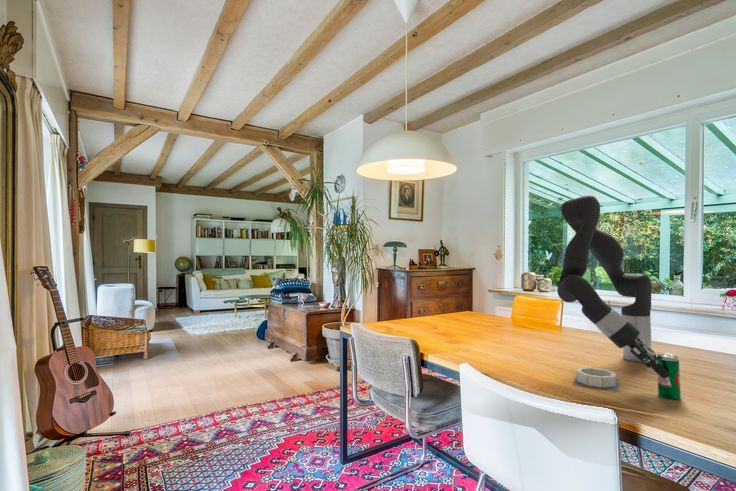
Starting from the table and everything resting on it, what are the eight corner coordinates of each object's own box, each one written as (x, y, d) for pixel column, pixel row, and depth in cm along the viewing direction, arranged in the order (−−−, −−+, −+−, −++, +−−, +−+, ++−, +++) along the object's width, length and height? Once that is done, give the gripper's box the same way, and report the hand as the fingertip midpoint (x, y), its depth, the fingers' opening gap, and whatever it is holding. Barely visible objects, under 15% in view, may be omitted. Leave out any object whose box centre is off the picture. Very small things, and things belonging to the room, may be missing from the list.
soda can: (653, 395, 109) (651, 353, 109) (669, 394, 109) (667, 352, 110) (668, 401, 104) (667, 357, 104) (685, 401, 104) (683, 357, 105)
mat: (577, 374, 129) (577, 373, 129) (619, 380, 122) (619, 379, 122) (572, 385, 118) (572, 384, 118) (618, 393, 111) (618, 391, 111)
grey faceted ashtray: (579, 374, 127) (579, 365, 128) (616, 380, 121) (615, 370, 122) (575, 383, 119) (575, 373, 119) (615, 389, 113) (614, 379, 113)
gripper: (626, 323, 107) (680, 371, 100) (627, 317, 118) (675, 359, 111) (605, 340, 110) (656, 387, 103) (607, 332, 121) (654, 374, 114)
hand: (666, 372), depth 107 cm, fingers open, 8 cm apart
